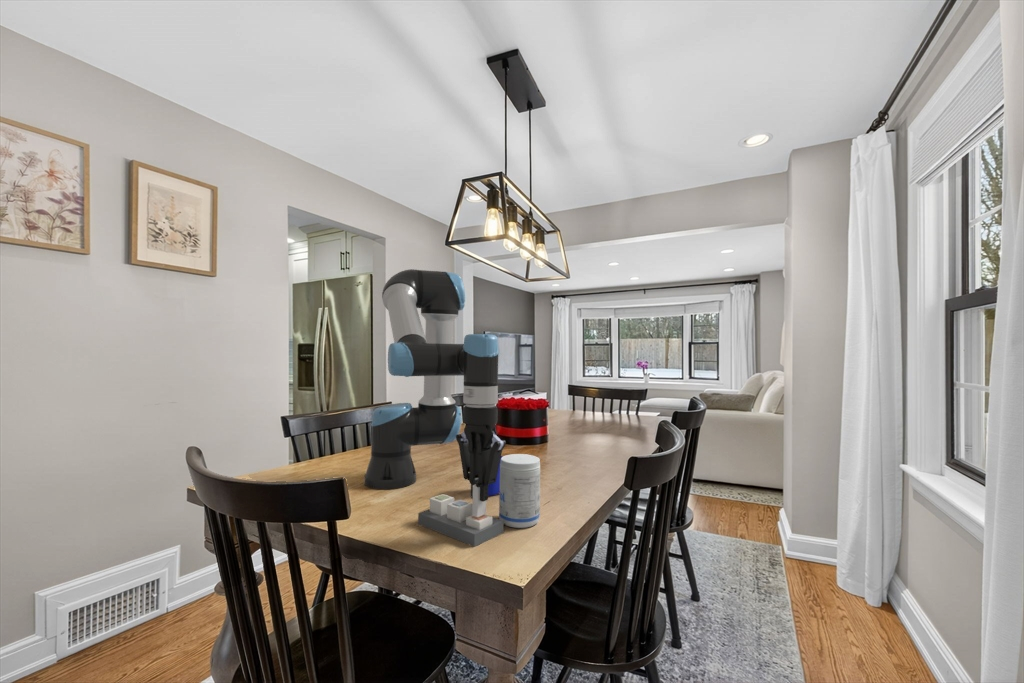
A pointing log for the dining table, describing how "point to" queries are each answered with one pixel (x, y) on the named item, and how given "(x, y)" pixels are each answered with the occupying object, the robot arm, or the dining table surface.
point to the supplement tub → (519, 490)
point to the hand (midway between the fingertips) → (479, 514)
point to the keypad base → (459, 528)
